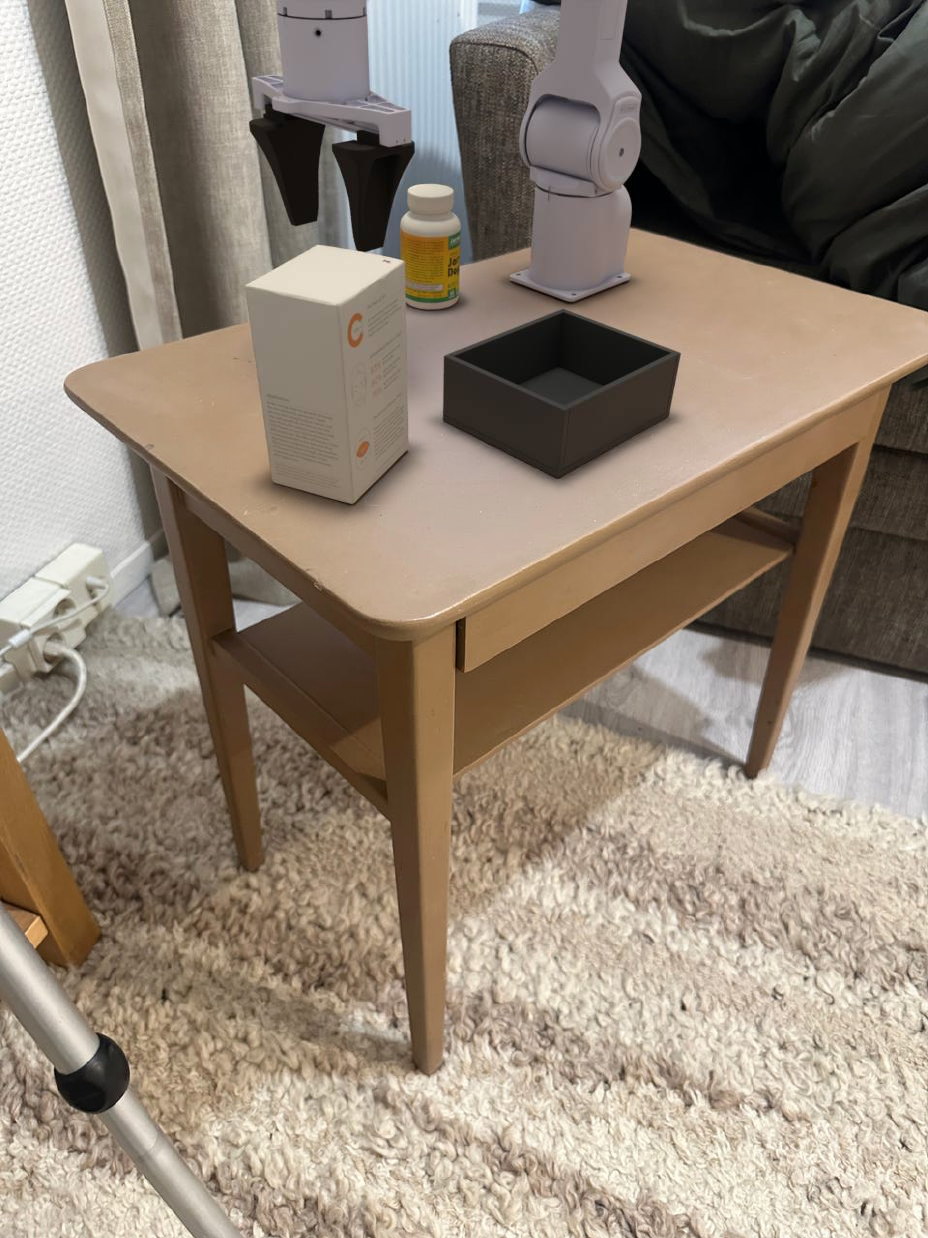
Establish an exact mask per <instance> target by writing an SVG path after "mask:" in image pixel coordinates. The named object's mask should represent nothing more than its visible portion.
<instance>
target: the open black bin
mask: <svg viewBox="0 0 928 1238" xmlns="http://www.w3.org/2000/svg"><path fill="white" fill-rule="evenodd" d="M681 355H682V354H681V352H679V351H677V350H675V349H672V348H669V347H667V346H663V345H661V344H659V343H656V342H653V341H651V340H648V339H645V338H642V337H640V336H637V335H634V334H632V333H629V332H626V331H623V330H621V329H618V328H615V327H613V326H610V325H609V324H608V325H607V324H605V323H602V322H600V321H597V320H595V319H592V318H590V317H586V316H584V315H581V314H578V313H575V312H573V311H570V310H568V309H565V308H560V309H559V310H556V311H553V312H551V313H548V314H546V315H543V316H541V317H538V318H536V319H533V320H531V321H528V322H526V323H523V324H521V325H518V326H515V327H512V328H510V329H508V330H505V331H503V332H500V333H498V334H495V335H492V336H490V337H488V338H485V339H483V340H480V341H477V342H475V343H473V344H470V345H467V346H465V347H462V348H461V349H457V350H455V351H452V352H449V353H447V354H445V355H443V379H442V382H443V387H442V395H443V396H442V421H444V423H445V422H446V423H448V424H449V425H451V426H453V427H456V428H457V429H459V430H461V431H463V432H465V433H467V434H469V435H471V436H473V437H474V438H477V439H479V440H481V441H483V442H485V443H487V444H489V445H491V446H493V447H494V448H496V449H499V450H500V451H503V452H505V453H506V454H509V455H511V456H513V457H515V458H517V459H518V460H521V461H523V462H524V463H527V464H529V465H531V466H532V467H534V468H537V469H538V470H541V471H543V472H544V473H545V474H548V475H550V476H552V477H554V478H556V479H559V478H560V477H562V476H564V475H566V474H567V473H570V472H571V471H573V470H575V469H576V468H578V467H580V466H582V465H584V464H585V463H587V462H589V461H591V460H593V459H594V458H596V457H598V456H600V455H602V454H603V453H605V452H607V451H609V450H611V449H612V448H615V447H616V446H618V445H620V444H622V443H623V442H625V441H627V440H628V439H630V438H632V437H633V436H635V435H638V434H639V433H641V432H643V431H645V430H647V429H648V428H651V427H652V426H654V425H655V424H657V423H659V422H661V421H663V420H665V419H667V418H668V417H670V412H671V407H672V402H673V396H674V391H675V388H676V387H675V386H676V381H677V377H678V371H679V367H680V366H679V365H680V361H681V357H682V356H681Z"/></svg>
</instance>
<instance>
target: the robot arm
mask: <svg viewBox="0 0 928 1238" xmlns="http://www.w3.org/2000/svg"><path fill="white" fill-rule="evenodd" d="M367 5H368V3H367V0H275V8H276V18H277V31H278V40H279V42H278V43H279V51H280V62H281V63H280V64H281V74H282V75H279V74H269V75H260V76H253V77H251V86H252V95H253V103H254V109H257V110H260V111H264V112H265V113H262V117H260V118H259V117H258V118H254V119H250V120H249V121H248V128H249V132H250V133H251V135H252V137H253V138H254V140H255V141H256V143H257V144H258V146H259V148H260V149H261V151H262V153H263V154H264V157H265V158H266V160H267V163H268V164H269V167H270V169H271V172H272V174H273V176H274V179H275V183H276V184H277V188H278V190H279V193H280V196H281V200H282V202H283V206H284V209H285V211H286V214H287V217H288V221H289V223H290V225H291V226H294V227H298V226H303V225H308V224H311V223H315V222H318V218H319V209H320V184H319V183H320V181H319V180H320V179H319V175H320V173H319V170H320V159H321V151H322V146H323V145H322V144H323V138H324V134H325V130H326V126H328V127H332V128H335V129H338V130H341V131H345V132H349V133H352V134H356V139H351V140H346V141H345V140H344V141H340V142H335V143H332V144H331V152H332V154H333V156H334V158H335V161H336V162H337V165H338V168H339V170H340V173H341V176H342V179H343V184H344V188H345V191H346V196H347V200H348V205H349V206H348V207H349V216H350V225H351V233H352V239H353V244H354V247H355V251H360V252H365V253H369V252H372V251H375V250H377V249H381V248H384V245H385V241H386V236H387V229H388V227H389V220H390V218H391V217H390V216H391V212H392V208H393V204H394V200H395V198H396V194H397V191H398V188H399V186H400V183H401V180H402V178H403V177H404V174H405V172H406V169H407V168H408V166H409V164H410V162H411V160H412V159H413V157H414V155H415V153H416V143H415V141H414V140H413V139H412V135H413V134H412V131H413V130H412V129H413V128H412V109H411V108H407V107H405V106H401V105H398V104H396V103H394V102H392V101H391V100H388V99H387V98H385V97H383V96H381V95H379V94H377V93H375V92H374V91H372V90H371V88H370V87H371V86H370V84H371V83H370V57H369V37H368V36H369V30H368V27H369V26H368V25H369V24H368V9H367V8H368V7H367ZM627 6H628V0H561V2H560V13H559V20H558V21H559V22H558V30H557V39H556V48H555V49H556V50H555V58H554V59H553V61H551V62H550V63H549V64H548V65H547V66H546V67H545V68H544V69H543V70H542V71H541V72H539V74H537V75H536V76H535V77H534V78H533V79H532V81H531V83H530V94H529V100H528V104H527V108H526V110H525V113H524V116H523V118H522V120H521V124H520V129H519V137H518V146H519V152H520V157H521V159H522V161H523V163H524V165H525V166H526V167H527V168H528V169H529V181H532V182H534V183H535V188H534V201H533V214H532V215H533V216H532V230H531V242H530V256H529V268H526V269H523V270H520V271H516V272H514V273H512V274H510V275H509V281H511V282H514V283H517V284H519V285H522V286H524V287H527V288H530V289H533V290H535V291H538V292H541V293H543V294H545V295H549V296H552V297H555V298H557V299H560V300H563V301H566V302H569V303H573V302H576V301H579V300H581V299H584V298H586V297H589V296H591V295H594V294H596V293H599V292H601V291H604V290H607V289H609V288H612V287H615V286H618V285H619V284H622V283H624V282H627V281H629V280H631V274H630V273H628V272H625V265H626V258H627V250H628V243H629V235H630V228H631V223H632V222H631V221H632V215H633V214H632V213H633V210H632V208H633V207H632V201H631V197H630V194H629V192H628V190H627V188H626V187H625V185H624V184H625V183H626V181H627V180H628V179H629V178H630V176H631V175H632V173H633V172H634V170H635V167H636V166H637V163H638V160H639V157H640V152H641V147H642V134H641V125H640V113H641V112H640V110H641V104H642V103H641V102H642V92H641V91H640V90H639V88H638V87H637V85H636V84H635V83H634V81H632V79H631V78H630V76H629V75H628V74H627V73H626V71H625V70H624V69H623V67H622V66H621V64H620V55H621V47H622V43H623V33H624V28H625V22H626V21H625V20H626V13H627V8H628V7H627Z"/></svg>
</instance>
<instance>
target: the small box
mask: <svg viewBox="0 0 928 1238" xmlns="http://www.w3.org/2000/svg"><path fill="white" fill-rule="evenodd" d="M244 290H245V297H246V305H247V312H248V318H249V319H248V320H249V325H250V334H251V340H252V347H253V354H254V362H255V369H256V376H257V383H258V391H259V397H260V405H261V412H262V419H263V426H264V427H263V428H264V432H265V433H264V435H265V441H266V447H267V455H268V462H269V470H270V476H271V480H272V482H273V483H274V484H278V485H282V486H285V487H289V488H292V489H296V490H300V491H305V492H307V493H310V494H314V495H317V496H321V497H325V498H328V499H331V500H335V501H338V502H339V501H340V502H343V503H347V504H350V505H353V504H356V502H357V501H358V500H359V499H360V498H361V497H362V496H363V495H364V494H365V492H367V490H369V489H370V488H371V487H372V486H373V485H374V484H375V483H376V482H377V481H378V480H379V479H380V478H381V477H382V476H383V475H384V474H385V473H386V472H387V471H388V470H389V469H390V468H391V467H392V466H393V465H394V464H395V463H396V462H397V461H398V460H399V459H400V458H401V457H402V456H403V455H404V454H405V453H406V452H407V451H408V450H409V449H410V441H409V439H410V438H409V404H408V356H407V355H408V352H407V351H408V350H407V349H408V348H407V347H408V346H407V345H408V344H407V303H406V293H405V262H404V261H402V260H401V259H398V258H394V257H391V256H385V255H381V254H375V253H371V252H360V251H357V250H354V249H347V248H341V247H337V246H336V247H335V246H329V245H323V244H316V245H314V246H313V247H311V248H309V249H308V250H306V251H303V252H302V253H301V254H299V255H297V256H295V257H293V258H291V259H290V260H288V261H286V262H285V263H283V264H281V265H279V266H277V267H275V268H273V269H272V270H270V271H269V272H267V273H265V274H263V275H261V276H260V277H257V278H256V279H255V280H253V281H251V282H249V283H247V284H245V285H244Z"/></svg>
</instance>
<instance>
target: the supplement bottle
mask: <svg viewBox="0 0 928 1238" xmlns="http://www.w3.org/2000/svg"><path fill="white" fill-rule="evenodd" d="M406 201H407V202H406V204H407V207H408V209H409V211H407V212H406V213H405V214H404V215H403V216H402V217H401V220H400V226H399V227H400V228H399V230H400V232H399V233H400V260H402V261H404V262H405V293H406V305H409V306H411V307H413V308H415V309H419V310H444V309H447V308H450V307H452V306H453V305H455V304H456V303H457V302H458V300H459V298H460V277H461V276H460V275H461V273H460V271H461V269H460V264H461V234H462V233H461V232H462V227H461V226H462V225H461V220H460V219H459V217H458V216H457V214H456V213H454V212H452V211H451V210H453V207H454V205H455V191H454V189H453V188H452V187H451V186H448V185H444V184H438V183H422V184H415V185H412V186H410V187H409V188H408V189H407V200H406Z"/></svg>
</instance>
